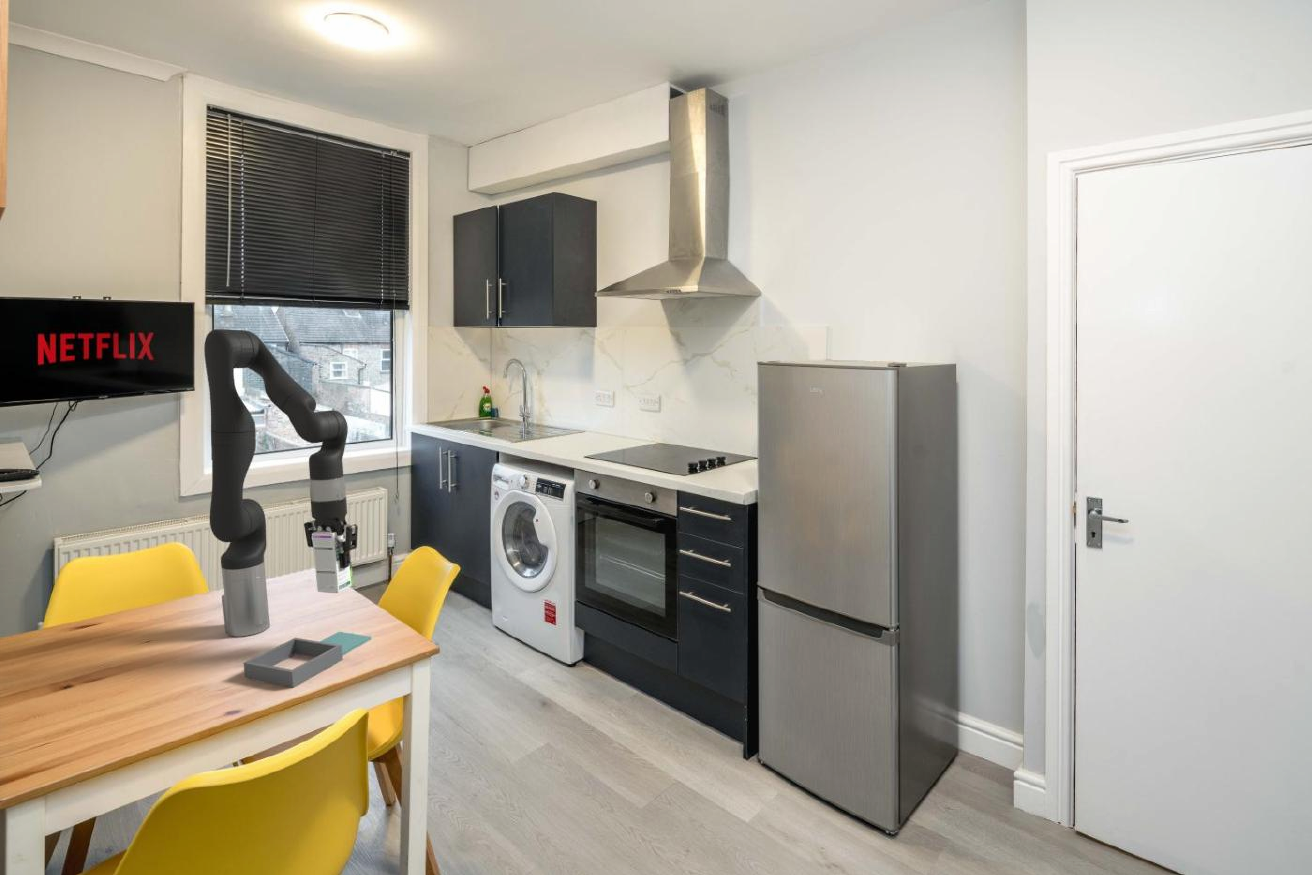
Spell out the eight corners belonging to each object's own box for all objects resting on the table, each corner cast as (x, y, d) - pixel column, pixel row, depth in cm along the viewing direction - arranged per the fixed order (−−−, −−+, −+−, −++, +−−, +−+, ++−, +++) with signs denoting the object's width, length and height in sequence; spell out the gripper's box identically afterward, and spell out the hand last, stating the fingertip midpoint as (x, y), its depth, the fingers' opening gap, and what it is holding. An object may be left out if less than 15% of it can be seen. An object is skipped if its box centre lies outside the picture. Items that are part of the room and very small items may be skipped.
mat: (306, 650, 161) (306, 648, 161) (339, 633, 170) (338, 631, 170) (340, 656, 158) (340, 654, 158) (371, 639, 167) (371, 636, 167)
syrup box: (338, 593, 159) (333, 533, 157) (316, 592, 160) (311, 532, 158) (354, 585, 164) (349, 526, 163) (332, 583, 166) (327, 525, 164)
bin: (244, 678, 148) (243, 662, 147) (296, 651, 160) (295, 637, 160) (293, 687, 143) (292, 671, 143) (342, 659, 156) (341, 645, 155)
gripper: (291, 498, 158) (297, 568, 160) (340, 502, 153) (345, 574, 156) (316, 491, 165) (322, 558, 167) (364, 495, 160) (369, 564, 163)
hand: (333, 565), depth 162 cm, fingers closed on syrup box, 6 cm apart
